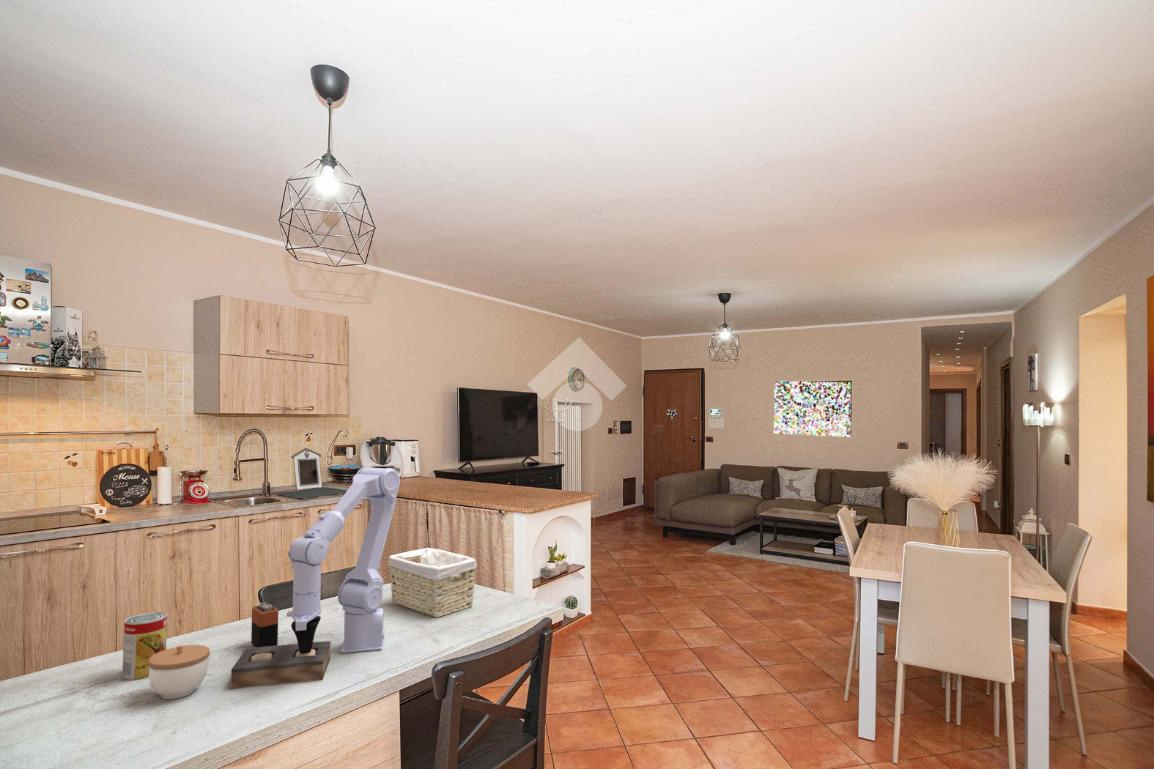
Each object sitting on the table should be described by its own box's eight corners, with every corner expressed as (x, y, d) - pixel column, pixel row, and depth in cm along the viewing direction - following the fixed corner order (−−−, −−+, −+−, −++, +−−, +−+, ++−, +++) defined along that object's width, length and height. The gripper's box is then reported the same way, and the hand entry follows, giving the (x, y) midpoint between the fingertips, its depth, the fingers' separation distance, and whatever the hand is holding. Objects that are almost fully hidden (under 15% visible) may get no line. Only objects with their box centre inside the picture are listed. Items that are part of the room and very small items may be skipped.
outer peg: (273, 668, 138) (273, 652, 138) (269, 675, 134) (269, 658, 134) (253, 670, 137) (254, 653, 137) (248, 677, 133) (249, 660, 133)
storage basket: (479, 607, 183) (479, 557, 184) (435, 621, 171) (435, 567, 172) (429, 592, 198) (429, 546, 199) (385, 604, 186) (386, 555, 187)
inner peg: (316, 664, 140) (316, 648, 140) (313, 671, 136) (313, 654, 136) (297, 666, 139) (297, 649, 139) (293, 673, 135) (294, 656, 135)
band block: (330, 658, 145) (330, 640, 145) (322, 679, 133) (323, 660, 133) (245, 666, 140) (246, 648, 140) (230, 688, 128) (231, 669, 129)
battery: (259, 651, 149) (260, 609, 149) (250, 643, 154) (251, 603, 154) (278, 646, 152) (279, 605, 152) (269, 639, 157) (270, 599, 157)
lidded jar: (162, 709, 119) (164, 660, 120) (136, 696, 125) (138, 649, 126) (218, 688, 129) (220, 643, 129) (192, 677, 134) (193, 633, 135)
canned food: (173, 667, 139) (175, 614, 140) (139, 682, 132) (141, 625, 132) (149, 663, 142) (150, 610, 142) (113, 677, 134) (115, 621, 135)
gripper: (293, 583, 145) (292, 642, 144) (280, 602, 131) (279, 667, 130) (325, 581, 146) (324, 639, 146) (316, 599, 132) (315, 663, 132)
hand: (305, 652), depth 138 cm, fingers closed, pressing on inner peg
